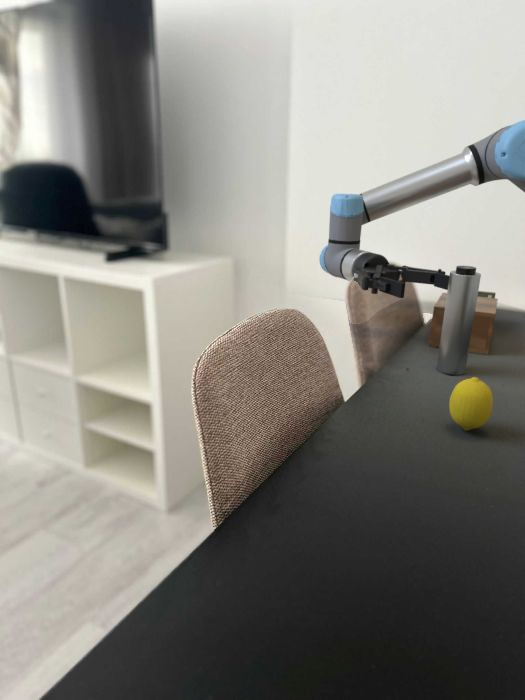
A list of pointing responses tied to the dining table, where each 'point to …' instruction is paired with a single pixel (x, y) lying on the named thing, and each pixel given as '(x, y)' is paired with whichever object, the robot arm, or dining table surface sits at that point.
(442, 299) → the cabinet
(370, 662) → the dining table surface
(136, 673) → the dining table surface
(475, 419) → the lemon
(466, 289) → the silver capped cylinder
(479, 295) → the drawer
